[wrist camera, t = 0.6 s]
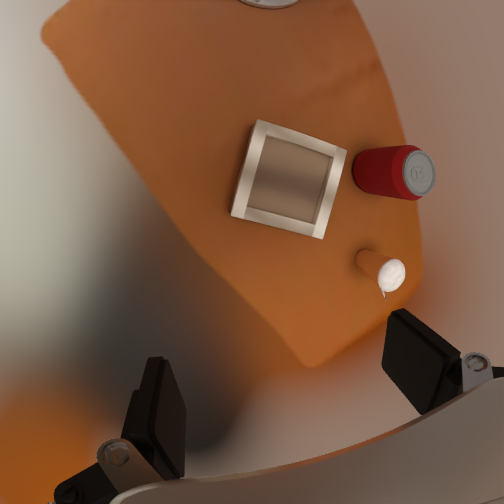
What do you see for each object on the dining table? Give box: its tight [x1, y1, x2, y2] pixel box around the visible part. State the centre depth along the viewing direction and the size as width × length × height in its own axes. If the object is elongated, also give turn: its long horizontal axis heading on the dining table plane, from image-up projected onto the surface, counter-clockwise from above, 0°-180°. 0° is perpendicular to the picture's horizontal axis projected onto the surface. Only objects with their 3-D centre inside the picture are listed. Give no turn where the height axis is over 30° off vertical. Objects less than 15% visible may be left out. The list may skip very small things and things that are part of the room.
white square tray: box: [229, 119, 347, 239], centre depth 35 cm, size 12×12×4 cm
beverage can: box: [353, 145, 436, 200], centre depth 32 cm, size 7×7×12 cm
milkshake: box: [355, 249, 405, 301], centre depth 37 cm, size 4×5×10 cm
